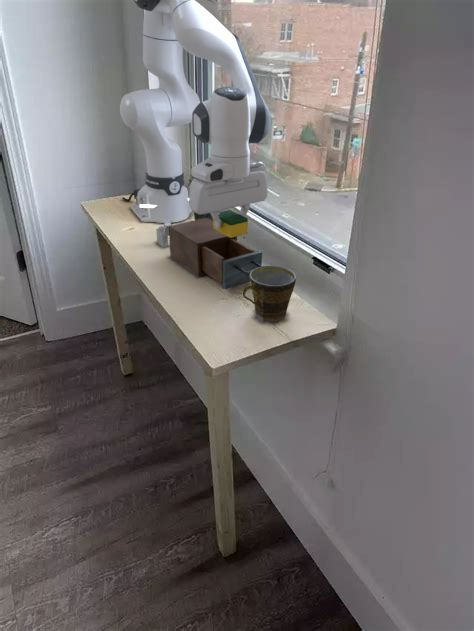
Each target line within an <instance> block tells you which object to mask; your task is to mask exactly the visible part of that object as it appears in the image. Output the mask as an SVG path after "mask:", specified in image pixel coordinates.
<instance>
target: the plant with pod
mask: <svg viewBox="0 0 474 631" xmlns="http://www.w3.org/2000/svg"><path fill="white" fill-rule="evenodd" d="M194 178H195V177H193V176H192V174H191V173H190V174H189V177H188V185H187V186H188V187H190V185H191V182H192V180H193V179H194ZM192 213H193V216H194V217H193V219H194V220H198V219H203V218H208V219H210V220H212V221H213V217H212V215H211V214H210V213H206V214H201V215H200V214H197V213H195V212H194V211H192Z"/></svg>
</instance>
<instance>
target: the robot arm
mask: <svg viewBox="0 0 474 631" xmlns="http://www.w3.org/2000/svg"><path fill="white" fill-rule="evenodd" d="M133 2H134V3H135V5H136V6H137V7H138V8H139V9H141V10H144V13H143V24H142V62H143V65H144V68H146V70H147V71H148V72H149V73H151V74H152V75H153V76H155V77H157V79H158V88H147V89H146V88H145V89H138V90H134V91H130V92H128V93H126V94H123V96H122V98H121V101H120V104H119V114H120V117H121V120H122V122H123V123H124V125H126V127H128V128H129V129H130V130H132V131H133V132H134V133H135V134H136V136H137V137H138V138H139V139H140V141H141V143H142V145H143V149H144V153H145V159H146V160H145V161H146V171H147V172H145V173H144V174H145V175H144V177H145V180H144V182H145V184H144V185H143V186H142V187H141V188H137V189H133V192H132V193H130V195H129V197H128V198H126V197H123V196H122V198H121V200H122V201H123V200H124V201H125V202H130V201H131V200H132V198H133V199H134V200H135V203H134V204H132V205H131V206H130V209H131V210H132V212H133V213H134V214H135V215H136V217H138V219H139V220H140V222H144V223H151V222H152V223H159V224H164V223H166V222H170V223H171V224H172V223H178V222H182V221H185V220H186V219H188V218H189V217H190V214H192V213H194V212H195V213H197V214H200V215H201V214H206V213H210V214H211V215H212V217H213V218H212V219H214V220H215V227H216V228H222V227H223V226H224V225H223V224H224V221H223V220H221V219H220V218H219V216H218V215H220V212H221V211H225V210H230V209H233V208H237V207H240V210H239V212H238V214H239V215H241V216H244V217H246V216H247V214H248V212H249V211H250V208H251V204H256V203H261V202H265V201H266V199H267V198H268V192H269V191H268V179H267V166H266V165H265V164H264V163H263V162H262V161H255V162H251V149H250V146H249V144H259V143H261V142H262V141H263V140H264V139H265V138H266V136H267V135H268V134H269V132H270V130H271V126H272V117H271V112H270V109H269V107H268V105H267V104H266V101H265V100H264V98H263V96H262V93H261V92H260V89H259V87H258V84H257V81H256V78H255V76H254V74H253V70H252V68H251V66H250V63H249V60H248V57H247V55H246V52H245V50H244V48H243V46H242V43H241V40H240V39H239V37H238V36H237V35H236V34H235V33H233V32H232V31H231V30H230V29H229V28H228V27H227V26H226V24H225V23H224V21H223V19H222V17H221V15H220V12H219V9H218V8H219V7H218V3H217V2H218V0H133ZM184 50H185V51H186V52H187V53H189V54H190V55H192V56H193V57H196V58H199V59H202V60H206V61H209V62H211V63H214V64H216V65H218V66H220V67H222V69H224V70H225V71H226V72H227V73H228V74H229V77H230V80H231V82H232V84H233V86H221V87H217V88H215V89H214V90H213V91H212V93H211V97H210V98H208V99H207V100H204V101H201V99H200V96H199V95H198V94H197V92H196V91H195V90H194V89H193V88H192V87H191V86H190V84H189V82H188V81H187V78H186V74H185V71H184V70H185V69H184ZM191 123H192V134H193V135H194V137H195V138H196V139H197V140H199V142H201V143H202V144H206V145H211V149H210V156H209V157H207V158H206V159H205V160H203V161H201V162H199V163H198V164H196V165H194V166H192V168H191V169H190V174H192V176H193V177H195V178H194V179H193V180H192V182H191V184H190V186H189V192H188V188H187V187H186V186H185V172H183V151H182V149H181V147H180V145H179V144H178V143H177V142H175V141H174V140H172V139H170V138H168V135H167V132H166V129H167V128H172V127H182V126H186V125H188V124H191ZM193 211H194V212H193Z"/></svg>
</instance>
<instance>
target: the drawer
mask: <svg viewBox="0 0 474 631" xmlns="http://www.w3.org/2000/svg"><path fill="white" fill-rule="evenodd" d="M200 260H201V270H202V271H203V272H205V273H206V275H208V276H209V277H210V278H212V279H213V280H215V281H216V282H218V283H219V284H221V285H222V290H224V291H225V290H226V291H227V290H229V289H233V288H236V287H240V286H242V285H245V284H249V283H250V273H251V271H252V270H254V269H256V268H258V267H262V266H263V252H262V251H261V250H256V251H254V249H253V248H250V247H249V246H247V245H246V244H243V243H242V242H241V241H238V240H237V241H236V240H234V239H233V238H229V239H225V240H221V241H217V242H213V243H209V244H205V245H202V246H200Z"/></svg>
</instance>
